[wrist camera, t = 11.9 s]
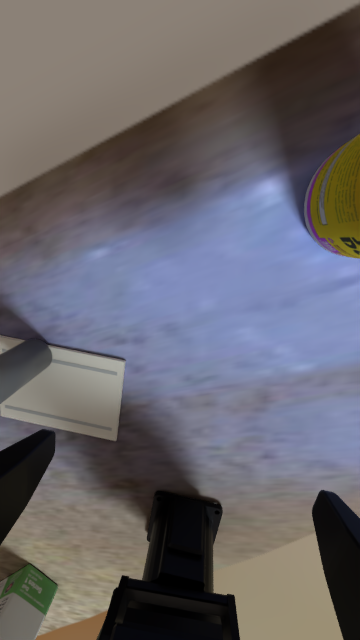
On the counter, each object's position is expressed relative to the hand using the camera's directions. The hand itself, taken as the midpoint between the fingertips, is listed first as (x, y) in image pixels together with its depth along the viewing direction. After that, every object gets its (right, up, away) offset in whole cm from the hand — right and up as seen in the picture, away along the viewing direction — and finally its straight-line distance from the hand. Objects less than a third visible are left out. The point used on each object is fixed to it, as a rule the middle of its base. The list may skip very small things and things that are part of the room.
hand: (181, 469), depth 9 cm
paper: (-11, -1, +14) cm, 18 cm away
